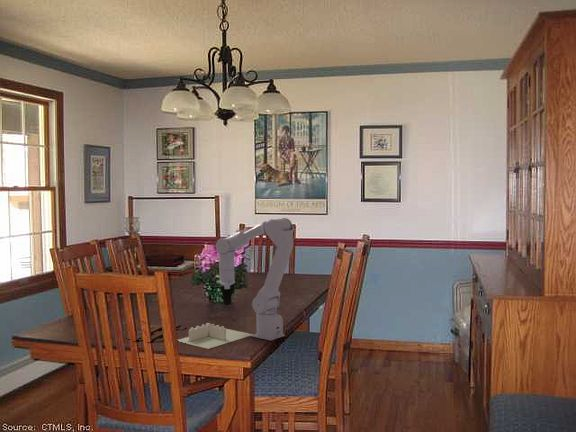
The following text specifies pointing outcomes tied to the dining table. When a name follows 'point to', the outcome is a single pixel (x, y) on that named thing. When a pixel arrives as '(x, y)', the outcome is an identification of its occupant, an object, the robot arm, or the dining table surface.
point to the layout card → (216, 339)
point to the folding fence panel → (217, 332)
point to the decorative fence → (157, 333)
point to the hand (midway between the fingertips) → (227, 304)
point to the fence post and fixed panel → (199, 332)
